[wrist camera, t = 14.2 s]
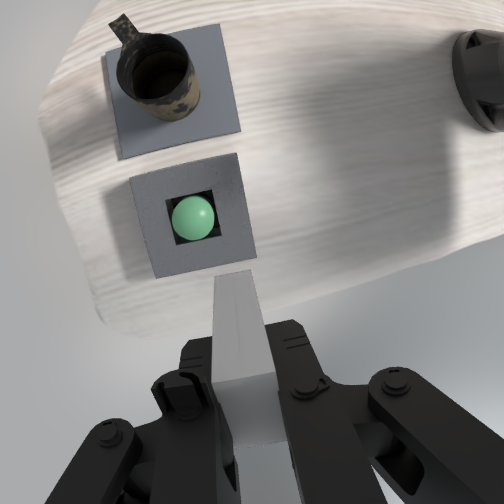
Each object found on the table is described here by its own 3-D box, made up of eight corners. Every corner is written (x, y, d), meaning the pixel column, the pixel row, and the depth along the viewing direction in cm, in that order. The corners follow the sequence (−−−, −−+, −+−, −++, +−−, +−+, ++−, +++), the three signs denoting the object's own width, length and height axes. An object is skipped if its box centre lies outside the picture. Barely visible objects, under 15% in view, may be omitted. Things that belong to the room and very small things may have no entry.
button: (209, 190, 31) (209, 194, 28) (217, 227, 32) (218, 235, 29) (171, 198, 31) (167, 203, 28) (180, 235, 32) (177, 244, 29)
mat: (219, 25, 27) (219, 23, 26) (240, 131, 31) (241, 131, 30) (107, 53, 26) (105, 52, 26) (124, 158, 30) (123, 159, 29)
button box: (234, 152, 31) (236, 152, 28) (252, 246, 34) (256, 257, 31) (138, 175, 31) (129, 177, 27) (161, 266, 34) (156, 278, 30)
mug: (212, 101, 29) (211, 71, 17) (165, 134, 29) (137, 122, 18) (169, 43, 26) (147, -9, 15) (123, 75, 27) (79, 39, 15)
